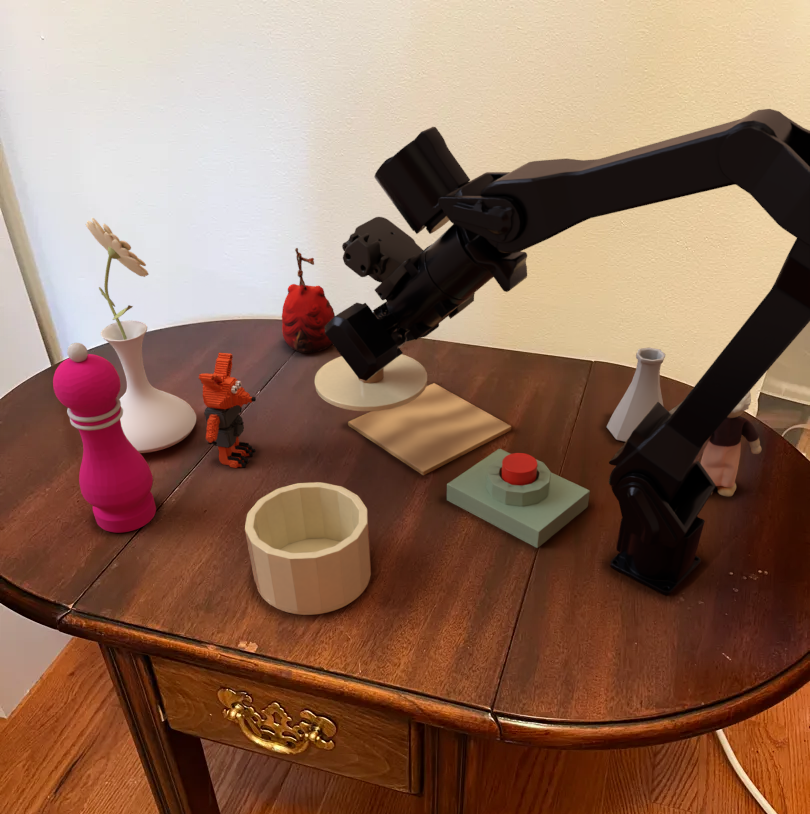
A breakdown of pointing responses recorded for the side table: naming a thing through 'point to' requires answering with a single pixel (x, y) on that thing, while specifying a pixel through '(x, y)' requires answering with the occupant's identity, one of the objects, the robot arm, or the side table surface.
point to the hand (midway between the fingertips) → (359, 352)
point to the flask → (638, 394)
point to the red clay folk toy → (306, 315)
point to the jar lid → (371, 385)
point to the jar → (309, 547)
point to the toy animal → (225, 412)
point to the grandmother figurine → (729, 448)
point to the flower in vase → (140, 367)
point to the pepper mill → (104, 443)
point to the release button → (519, 469)
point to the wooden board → (430, 429)
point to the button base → (518, 499)
